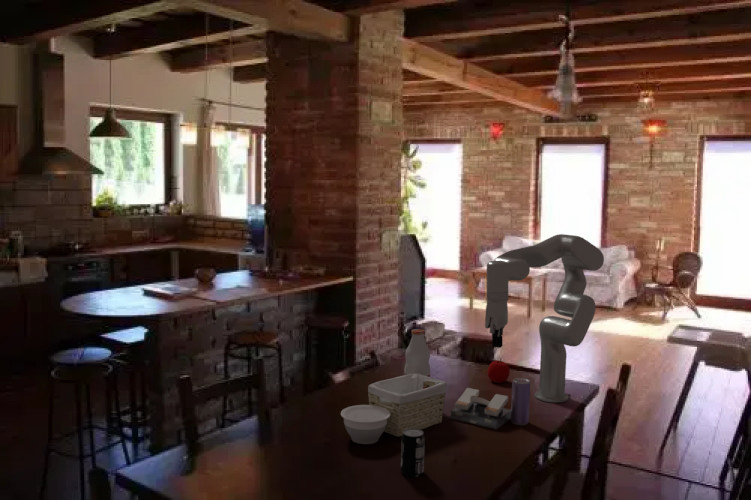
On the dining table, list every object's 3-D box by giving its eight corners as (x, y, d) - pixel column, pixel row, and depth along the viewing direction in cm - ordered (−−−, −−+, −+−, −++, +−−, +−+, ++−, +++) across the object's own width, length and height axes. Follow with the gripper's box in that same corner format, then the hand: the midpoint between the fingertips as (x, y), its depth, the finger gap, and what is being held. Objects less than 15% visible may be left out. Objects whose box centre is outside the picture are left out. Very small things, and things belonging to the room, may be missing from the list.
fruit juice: (422, 399, 259) (424, 326, 255) (433, 407, 250) (435, 332, 247) (399, 402, 255) (401, 328, 252) (410, 410, 246) (412, 334, 243)
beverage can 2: (528, 426, 232) (530, 383, 231) (510, 424, 234) (512, 382, 232) (528, 420, 238) (530, 378, 237) (510, 418, 239) (512, 377, 238)
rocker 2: (480, 405, 244) (481, 400, 244) (492, 407, 241) (493, 402, 242) (469, 400, 236) (471, 395, 236) (481, 403, 233) (483, 397, 234)
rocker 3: (496, 397, 241) (495, 393, 240) (508, 400, 239) (507, 395, 238) (484, 413, 233) (484, 409, 233) (496, 416, 231) (496, 412, 230)
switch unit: (467, 408, 249) (467, 396, 249) (511, 418, 240) (511, 405, 240) (450, 418, 238) (450, 406, 238) (495, 429, 229) (496, 416, 229)
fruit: (511, 385, 278) (512, 361, 277) (488, 384, 278) (489, 360, 277) (507, 378, 287) (508, 355, 286) (485, 378, 287) (486, 354, 286)
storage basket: (414, 411, 246) (415, 371, 244) (448, 423, 234) (449, 381, 233) (364, 426, 230) (365, 384, 228) (398, 441, 218) (399, 396, 216)
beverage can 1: (399, 468, 198) (400, 427, 196) (421, 467, 198) (422, 427, 197) (402, 478, 191) (403, 436, 190) (425, 477, 192) (426, 436, 190)
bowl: (396, 433, 224) (396, 408, 223) (381, 451, 209) (381, 424, 208) (350, 426, 229) (351, 402, 228) (332, 444, 214) (332, 417, 213)
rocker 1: (467, 391, 247) (467, 387, 246) (479, 393, 244) (478, 389, 244) (455, 407, 239) (455, 403, 239) (467, 410, 237) (466, 405, 236)
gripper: (496, 291, 249) (495, 340, 251) (478, 299, 236) (478, 350, 239) (515, 293, 245) (515, 343, 247) (499, 301, 232) (498, 353, 235)
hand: (497, 346), depth 243 cm, fingers closed
